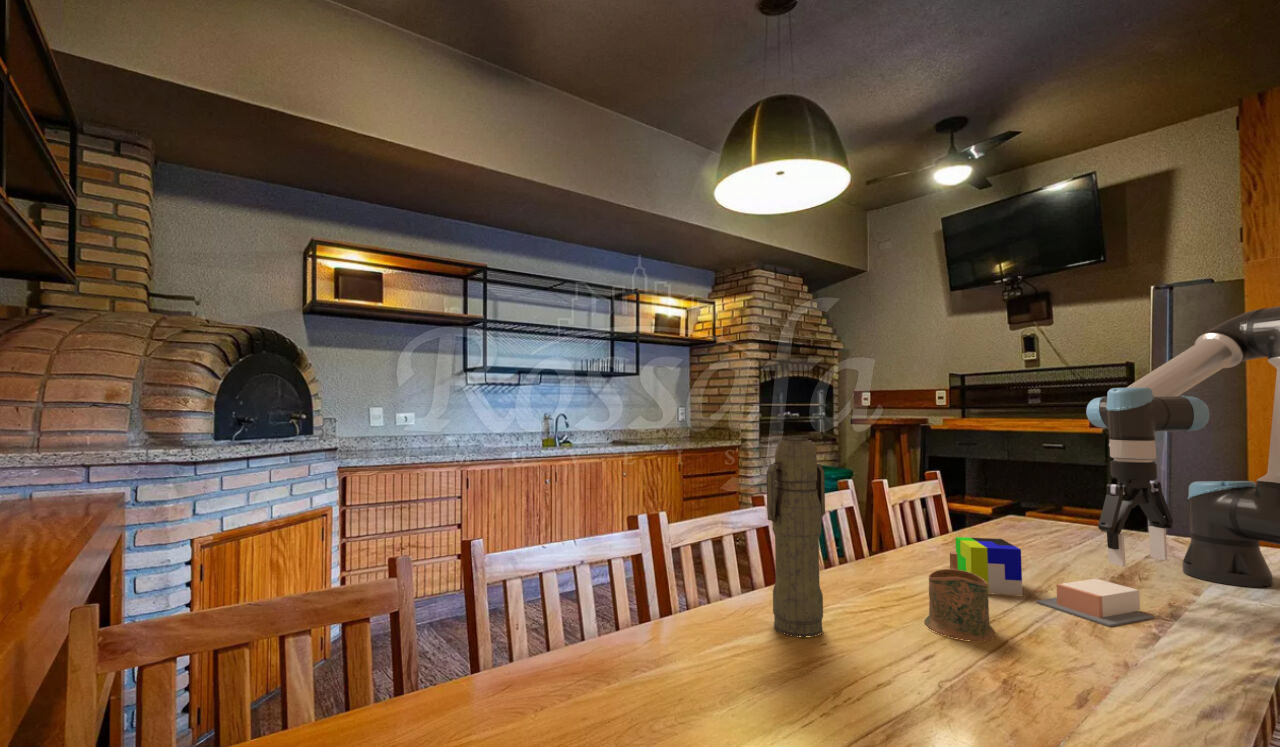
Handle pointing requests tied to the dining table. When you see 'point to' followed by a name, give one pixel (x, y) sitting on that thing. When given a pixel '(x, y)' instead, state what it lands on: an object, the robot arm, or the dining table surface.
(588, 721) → the dining table surface
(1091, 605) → the tall block
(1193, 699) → the dining table surface
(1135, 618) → the mat
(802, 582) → the robed figure statue
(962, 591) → the brown hat
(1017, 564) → the puzzle toy
